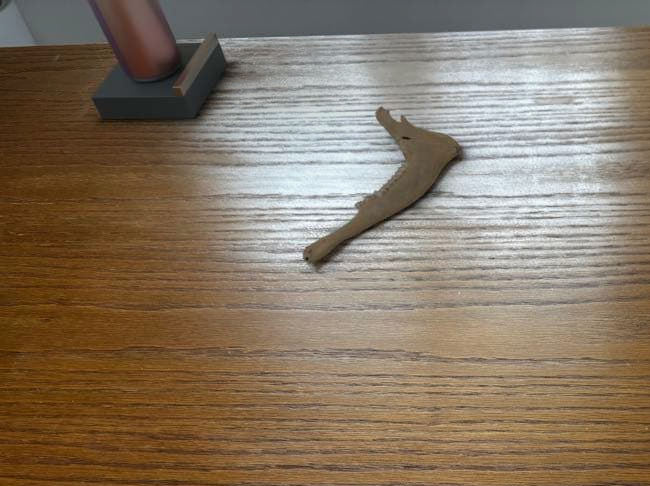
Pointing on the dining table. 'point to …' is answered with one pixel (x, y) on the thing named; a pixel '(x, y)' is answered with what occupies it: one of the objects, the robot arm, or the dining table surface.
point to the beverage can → (139, 37)
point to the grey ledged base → (164, 86)
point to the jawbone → (394, 180)
